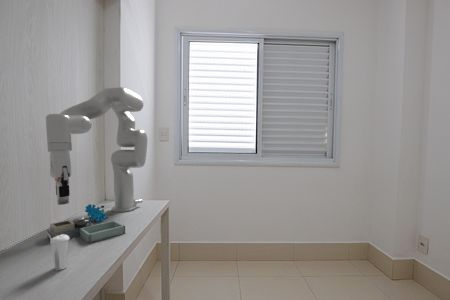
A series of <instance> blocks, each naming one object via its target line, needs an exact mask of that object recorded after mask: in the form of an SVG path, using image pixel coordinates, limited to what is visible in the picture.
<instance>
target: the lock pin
mask: <svg viewBox="0 0 450 300" xmlns="http://www.w3.org/2000/svg"><path fill="white" fill-rule="evenodd" d="M61 178H64V177H63V176H62V177H61ZM62 180H64V179H62ZM54 181H55V187H56V186H57V195H56V198H57V205H66V204H70V199H69V198H70V195H69V196H66V197H59V187H60V184H59V177H58V179H55V178H54Z"/></svg>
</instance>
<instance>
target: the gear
mask: <svg viewBox="0 0 450 300" xmlns="http://www.w3.org/2000/svg"><path fill="white" fill-rule="evenodd" d="M84 208H85V211H84V212H85V213H87V217H89V218H90V221H91V220H92V221H94V220H95V222H101V223H104V222H103V221H105V219H107V218H106V213H105V209H104V208H103V209H101V208H100V206H97V207H96V205H95V204H90V203H89V204H88V205H86V206H85V207H84Z"/></svg>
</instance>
